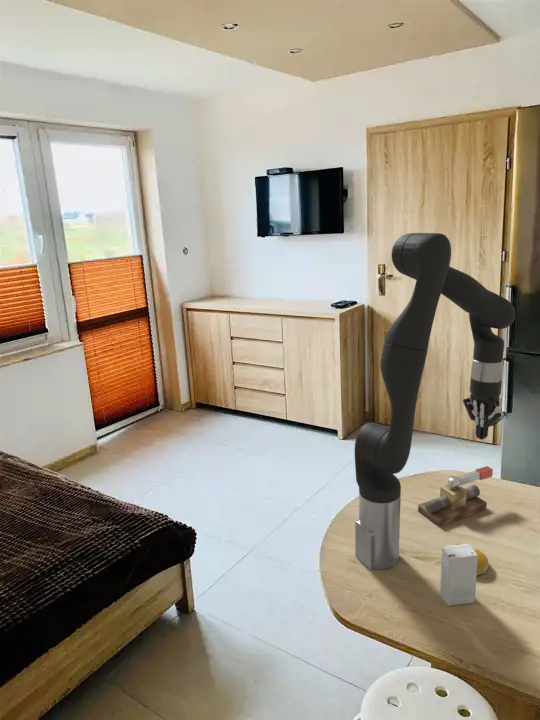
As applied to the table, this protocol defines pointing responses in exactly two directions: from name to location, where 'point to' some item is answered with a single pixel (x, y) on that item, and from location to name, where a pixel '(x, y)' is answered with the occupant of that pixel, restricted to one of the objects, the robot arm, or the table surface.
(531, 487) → the table surface
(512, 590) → the table surface
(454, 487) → the valve lever
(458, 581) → the skincare box
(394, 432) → the robot arm
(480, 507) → the valve board
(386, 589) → the table surface
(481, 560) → the bread roll
